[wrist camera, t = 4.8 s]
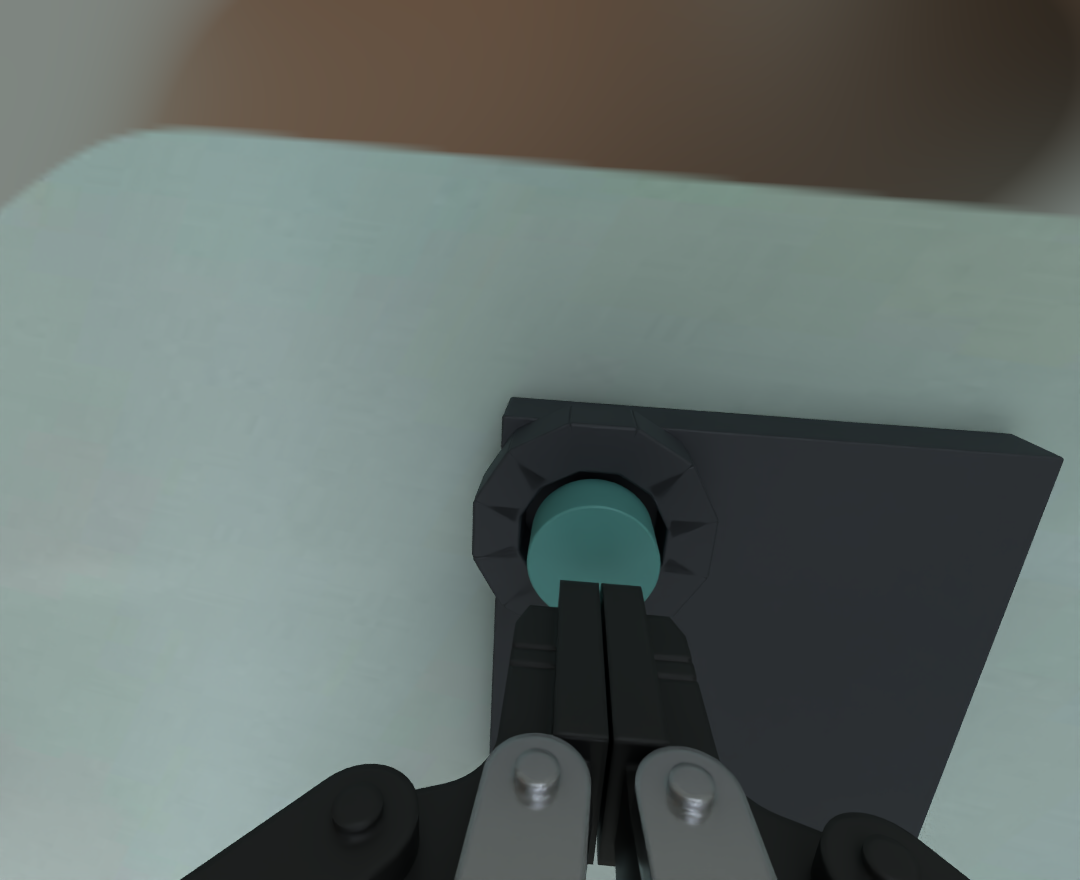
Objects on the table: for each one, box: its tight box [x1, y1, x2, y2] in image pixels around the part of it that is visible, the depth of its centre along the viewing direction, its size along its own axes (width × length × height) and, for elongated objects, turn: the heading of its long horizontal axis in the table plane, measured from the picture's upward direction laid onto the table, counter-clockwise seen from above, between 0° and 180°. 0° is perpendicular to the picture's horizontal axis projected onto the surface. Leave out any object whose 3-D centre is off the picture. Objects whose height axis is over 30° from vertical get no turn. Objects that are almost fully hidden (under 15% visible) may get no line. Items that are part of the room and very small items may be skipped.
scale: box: [472, 397, 1064, 838], centre depth 17 cm, size 14×14×4 cm
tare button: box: [527, 479, 661, 607], centre depth 14 cm, size 3×3×2 cm
